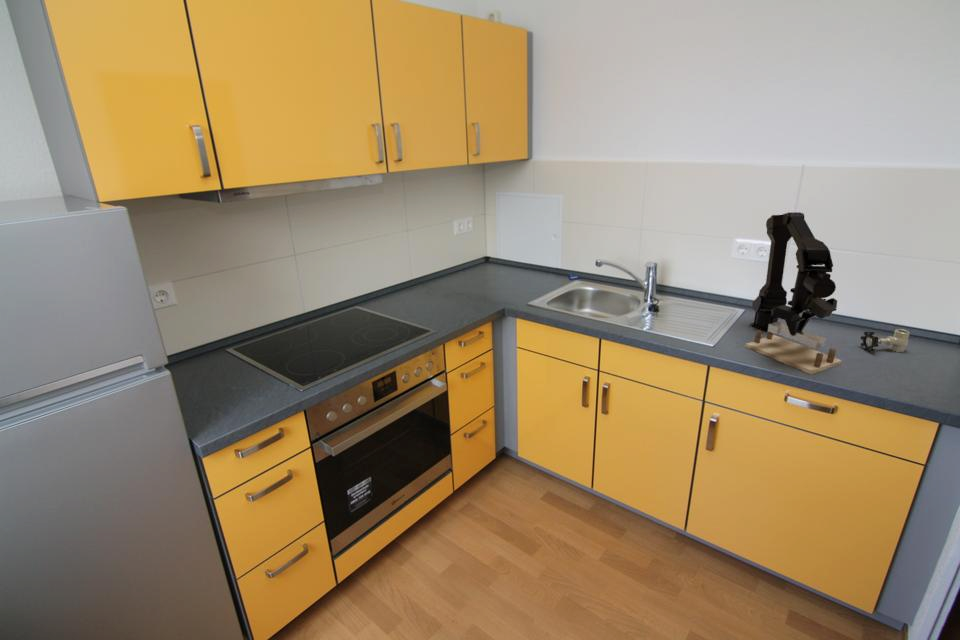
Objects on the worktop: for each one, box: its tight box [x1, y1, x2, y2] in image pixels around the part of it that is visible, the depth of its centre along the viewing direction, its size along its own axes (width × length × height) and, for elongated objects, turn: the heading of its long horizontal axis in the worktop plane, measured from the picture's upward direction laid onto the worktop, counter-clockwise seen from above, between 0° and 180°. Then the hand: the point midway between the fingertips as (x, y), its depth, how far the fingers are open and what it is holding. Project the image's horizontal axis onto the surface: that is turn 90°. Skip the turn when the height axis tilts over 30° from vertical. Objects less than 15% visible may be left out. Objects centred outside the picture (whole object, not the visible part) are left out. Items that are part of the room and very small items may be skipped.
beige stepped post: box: [767, 321, 827, 350], centre depth 155 cm, size 16×4×2 cm, turn 26°
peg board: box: [744, 329, 843, 375], centre depth 157 cm, size 22×14×5 cm, turn 26°
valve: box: [860, 328, 911, 353], centre depth 157 cm, size 7×7×12 cm
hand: (795, 334), depth 155 cm, fingers closed on beige stepped post, 2 cm apart
